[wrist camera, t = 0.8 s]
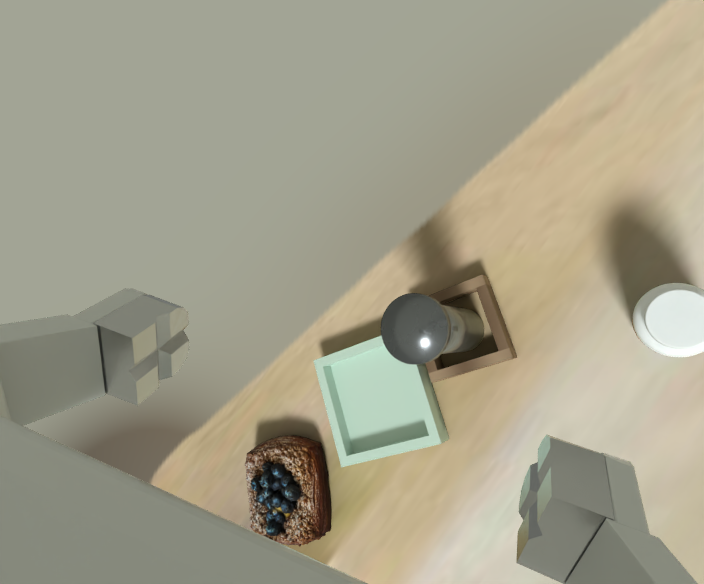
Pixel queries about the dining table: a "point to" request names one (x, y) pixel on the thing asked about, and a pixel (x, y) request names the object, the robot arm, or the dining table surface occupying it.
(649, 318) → the supplement bottle
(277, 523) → the pastry
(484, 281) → the socket block
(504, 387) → the dining table surface
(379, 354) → the tray
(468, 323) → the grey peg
